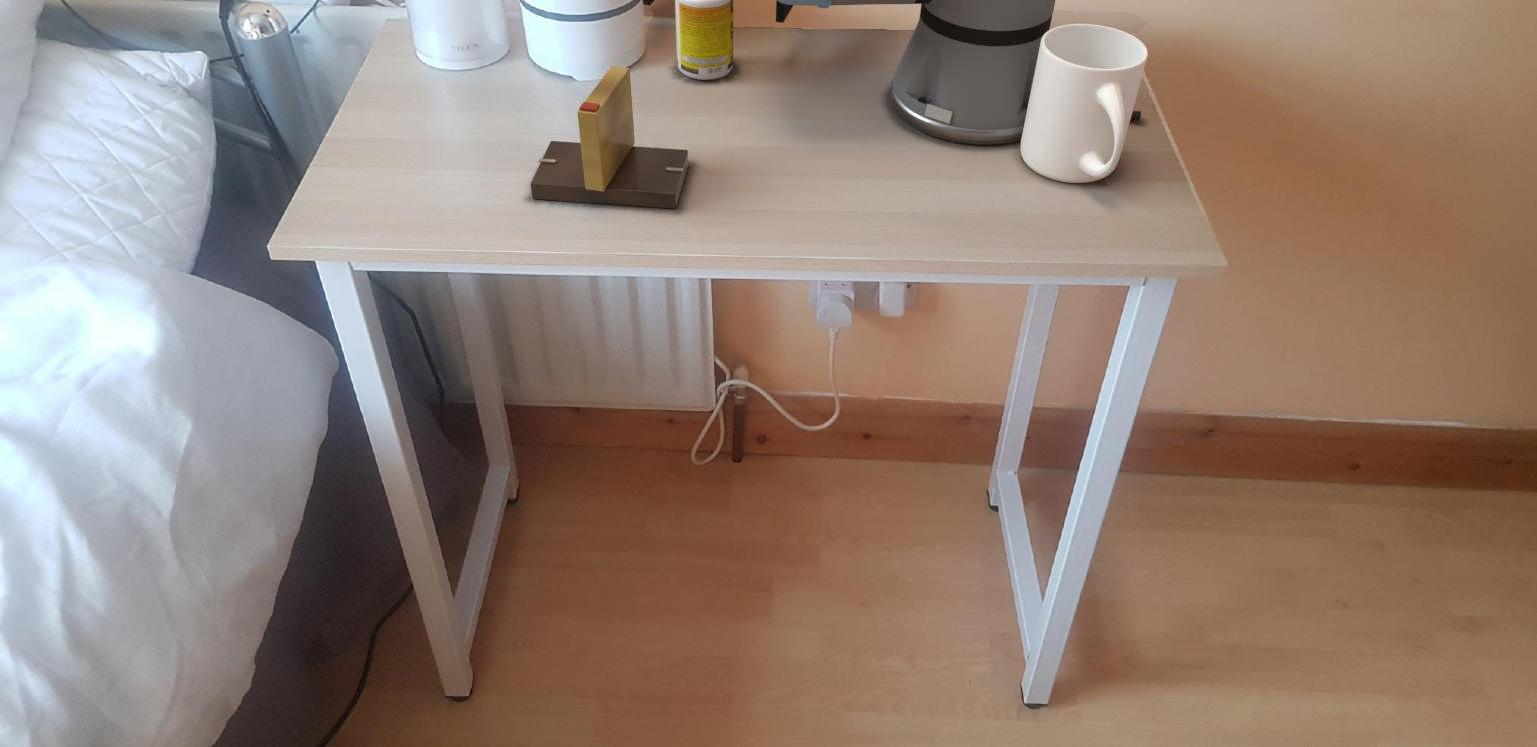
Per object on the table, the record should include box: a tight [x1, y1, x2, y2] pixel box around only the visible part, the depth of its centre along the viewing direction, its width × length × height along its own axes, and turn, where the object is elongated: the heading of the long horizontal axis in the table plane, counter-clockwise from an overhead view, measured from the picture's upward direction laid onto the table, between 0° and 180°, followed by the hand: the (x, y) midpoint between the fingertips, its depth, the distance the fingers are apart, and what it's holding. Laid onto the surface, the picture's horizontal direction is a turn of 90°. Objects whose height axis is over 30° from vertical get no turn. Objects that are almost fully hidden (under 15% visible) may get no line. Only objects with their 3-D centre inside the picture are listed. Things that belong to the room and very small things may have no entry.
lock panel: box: [530, 140, 689, 210], centre depth 91 cm, size 12×7×2 cm, turn 85°
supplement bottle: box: [674, 0, 734, 81], centre depth 104 cm, size 6×6×10 cm
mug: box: [1020, 23, 1149, 184], centre depth 91 cm, size 9×12×11 cm
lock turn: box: [576, 65, 636, 191], centre depth 88 cm, size 8×2×7 cm, turn 167°
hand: (712, 0), depth 105 cm, fingers open, 13 cm apart
